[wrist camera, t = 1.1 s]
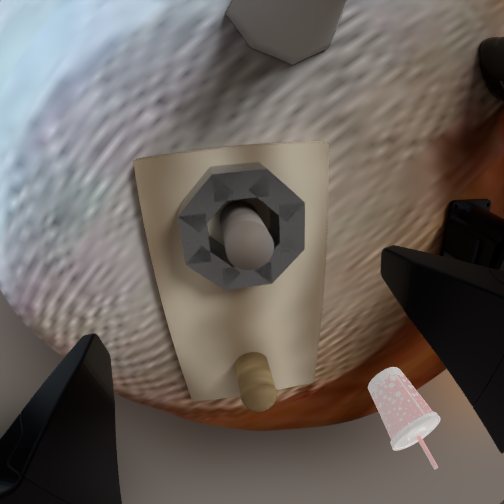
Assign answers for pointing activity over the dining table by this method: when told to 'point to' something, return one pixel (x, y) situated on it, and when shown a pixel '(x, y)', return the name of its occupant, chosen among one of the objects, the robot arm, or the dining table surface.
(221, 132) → the dining table surface
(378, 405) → the beverage cup
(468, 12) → the dining table surface
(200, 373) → the base board
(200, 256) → the steel ring
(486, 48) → the supplement bottle
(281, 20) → the flask
